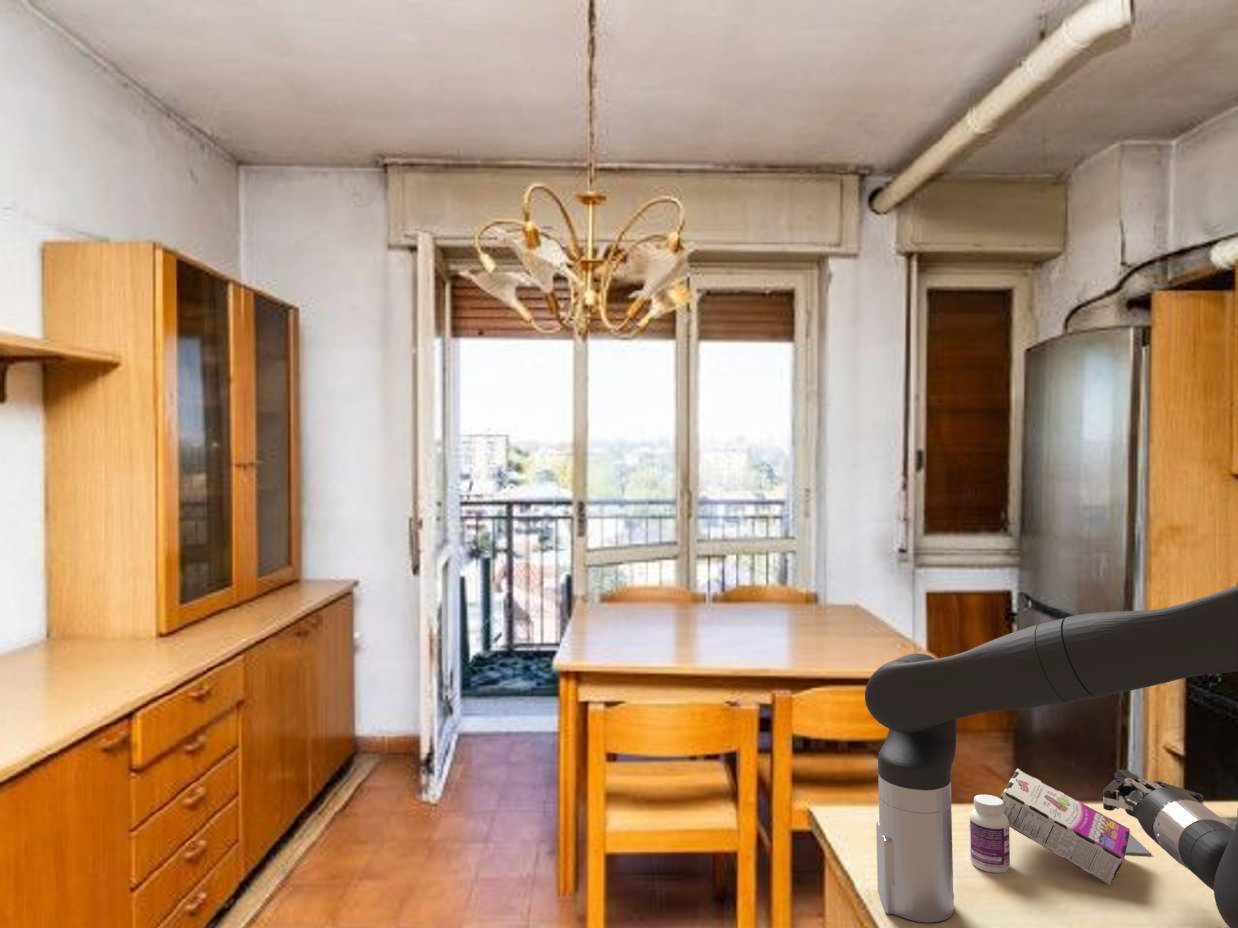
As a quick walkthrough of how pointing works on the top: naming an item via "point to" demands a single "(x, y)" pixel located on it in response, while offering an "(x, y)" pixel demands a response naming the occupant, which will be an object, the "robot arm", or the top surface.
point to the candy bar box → (1065, 826)
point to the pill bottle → (989, 835)
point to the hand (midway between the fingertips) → (1121, 776)
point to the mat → (1136, 847)
